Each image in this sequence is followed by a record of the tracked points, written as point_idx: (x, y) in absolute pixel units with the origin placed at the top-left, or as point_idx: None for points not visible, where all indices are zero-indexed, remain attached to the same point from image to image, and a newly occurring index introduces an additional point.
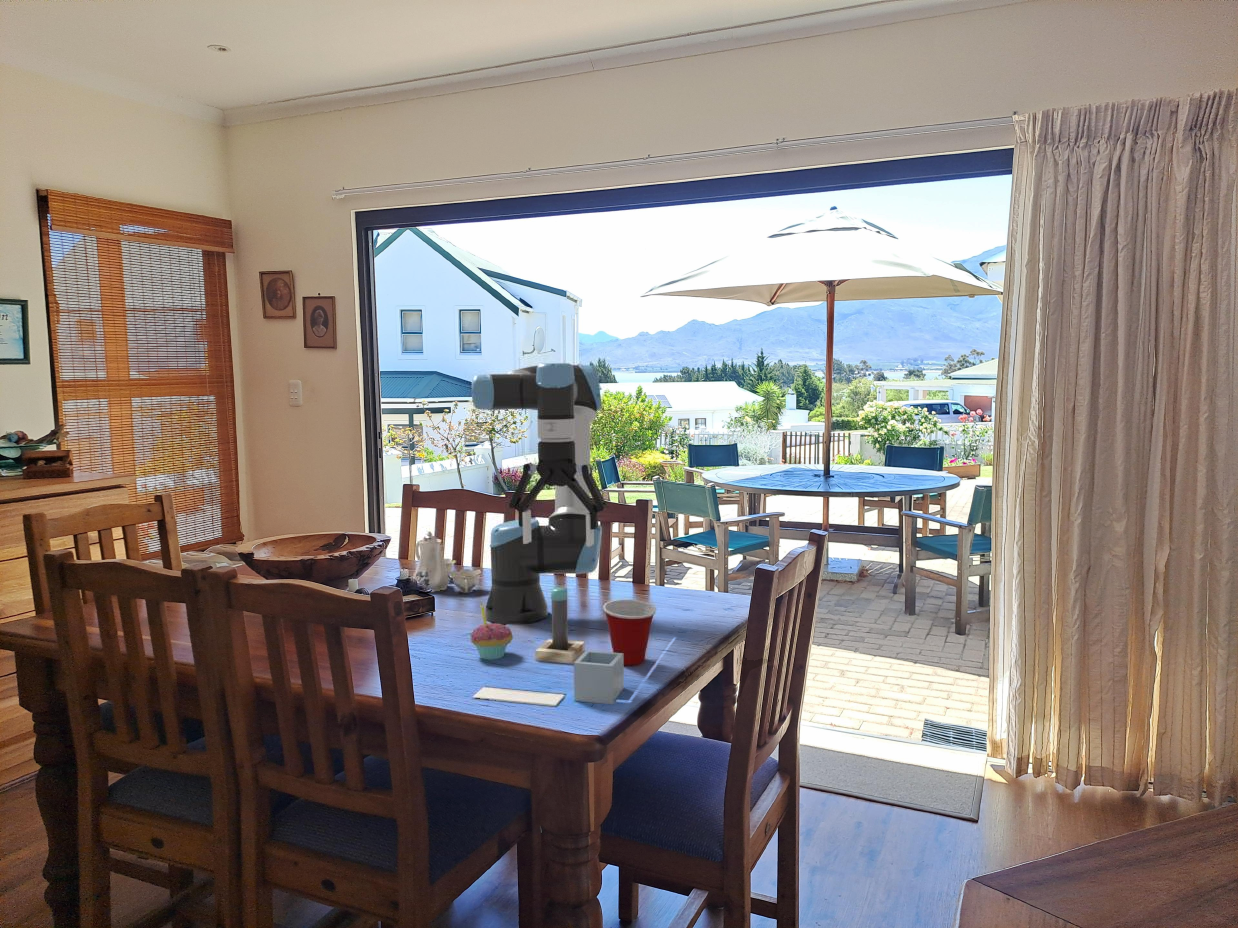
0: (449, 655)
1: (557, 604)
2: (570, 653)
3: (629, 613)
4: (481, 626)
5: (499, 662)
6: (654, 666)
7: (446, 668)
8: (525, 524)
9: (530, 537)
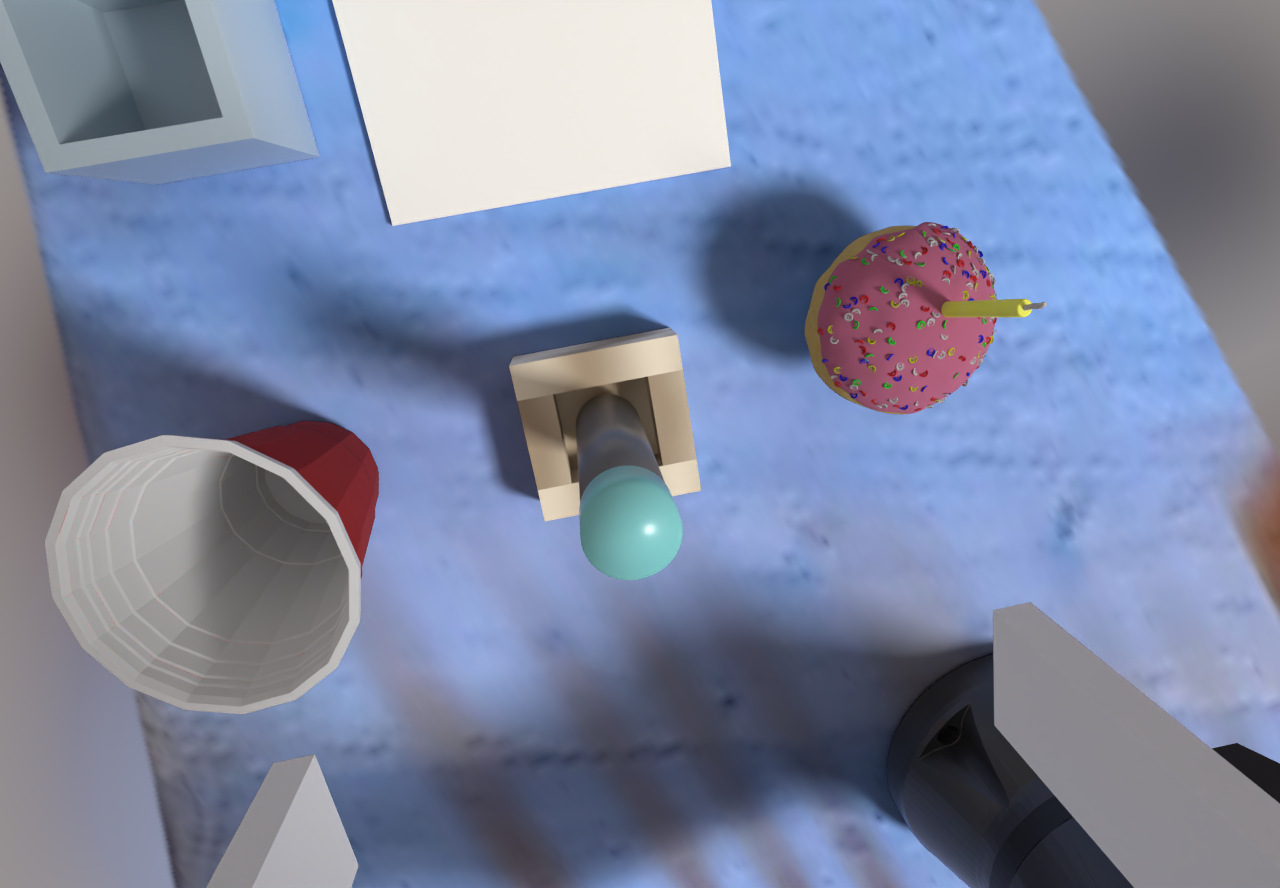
0: (1033, 259)
1: (611, 460)
2: (517, 365)
3: (303, 639)
4: (966, 298)
5: (805, 269)
6: None
7: (972, 112)
8: (1174, 763)
9: (1022, 738)
